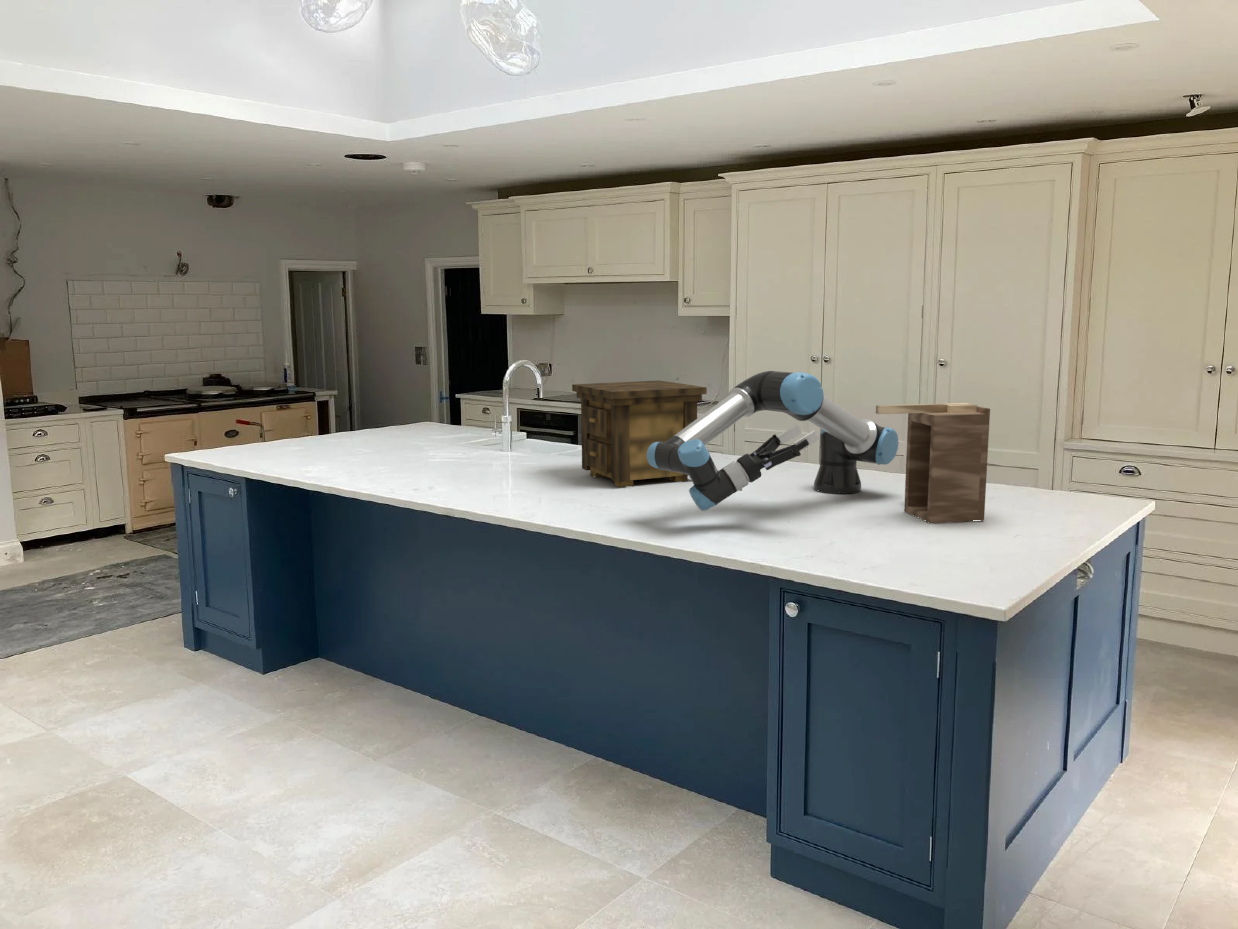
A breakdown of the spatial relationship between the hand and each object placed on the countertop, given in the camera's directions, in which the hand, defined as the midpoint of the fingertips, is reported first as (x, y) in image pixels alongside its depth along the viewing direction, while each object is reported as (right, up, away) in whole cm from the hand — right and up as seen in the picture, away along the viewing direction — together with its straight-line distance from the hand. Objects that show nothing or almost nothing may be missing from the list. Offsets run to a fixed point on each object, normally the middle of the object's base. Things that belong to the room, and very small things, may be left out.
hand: (808, 431), depth 263 cm
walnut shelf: (+41, -24, +11) cm, 48 cm away
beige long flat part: (+33, +5, +5) cm, 34 cm away
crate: (-45, -14, +76) cm, 89 cm away
